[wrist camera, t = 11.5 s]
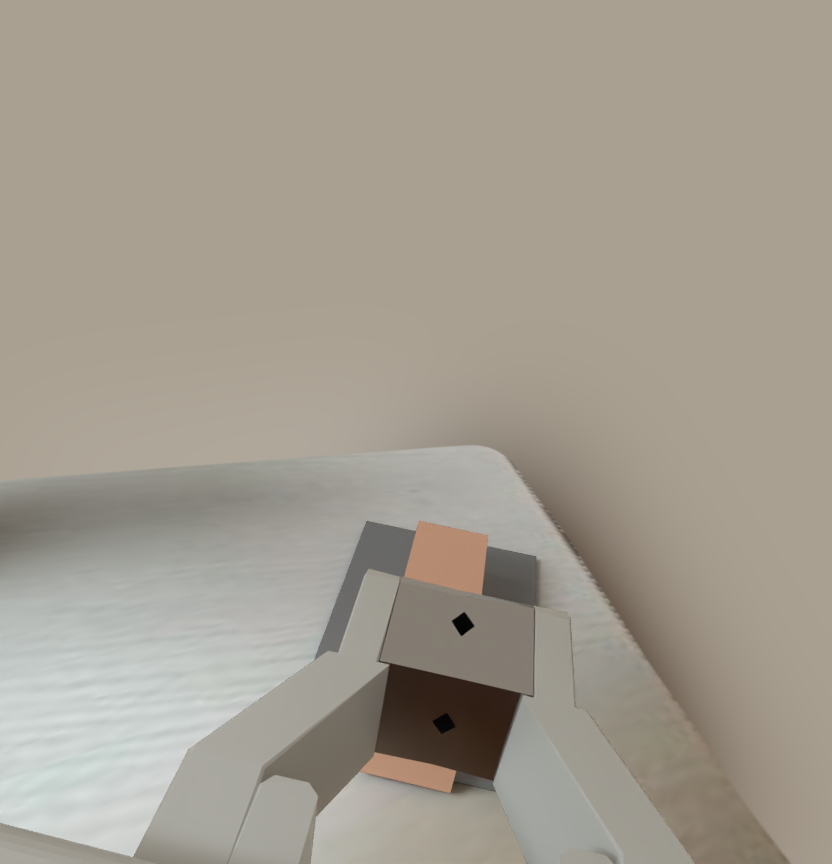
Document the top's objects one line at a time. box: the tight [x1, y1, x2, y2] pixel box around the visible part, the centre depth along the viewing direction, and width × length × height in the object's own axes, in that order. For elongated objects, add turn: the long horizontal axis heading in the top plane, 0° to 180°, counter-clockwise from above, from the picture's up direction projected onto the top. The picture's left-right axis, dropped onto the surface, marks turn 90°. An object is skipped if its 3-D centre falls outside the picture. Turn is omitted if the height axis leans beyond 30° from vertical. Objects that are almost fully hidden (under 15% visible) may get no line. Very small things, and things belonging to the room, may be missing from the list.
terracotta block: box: [360, 521, 488, 793], centre depth 41 cm, size 5×5×16 cm
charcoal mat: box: [314, 521, 536, 791], centre depth 45 cm, size 20×14×1 cm
